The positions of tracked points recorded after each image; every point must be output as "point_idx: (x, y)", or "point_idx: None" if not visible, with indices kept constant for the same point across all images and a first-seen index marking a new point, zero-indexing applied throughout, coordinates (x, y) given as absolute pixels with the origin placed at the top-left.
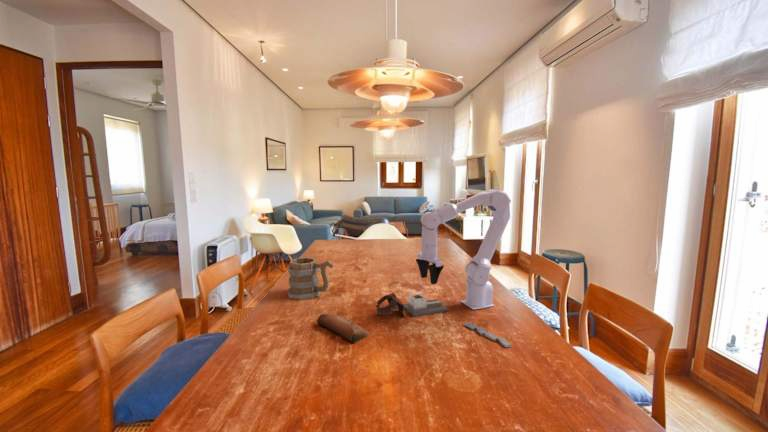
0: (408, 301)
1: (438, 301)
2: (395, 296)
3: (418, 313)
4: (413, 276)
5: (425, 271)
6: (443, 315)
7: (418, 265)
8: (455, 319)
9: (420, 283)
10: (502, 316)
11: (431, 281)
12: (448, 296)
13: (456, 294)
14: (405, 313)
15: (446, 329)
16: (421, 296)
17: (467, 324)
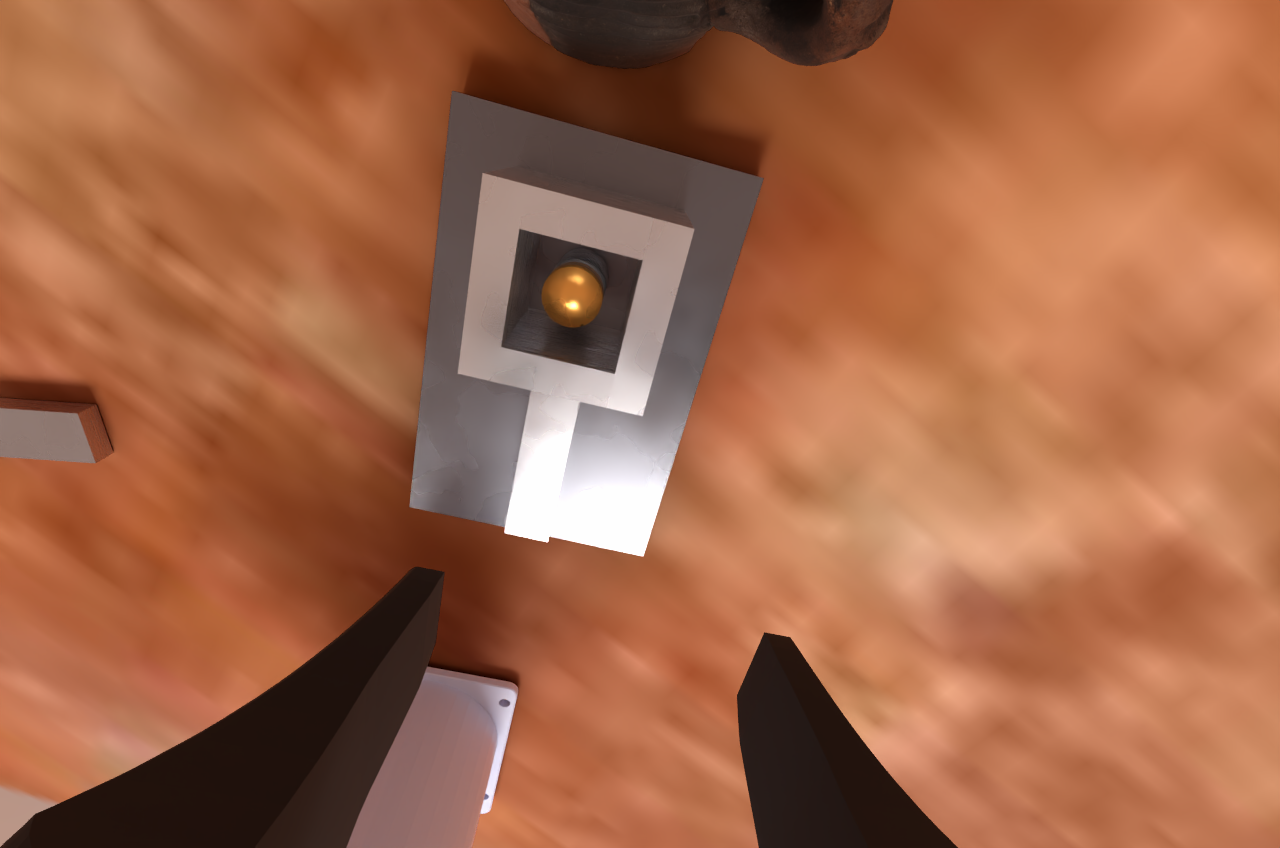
0: (680, 216)
1: (535, 522)
2: (820, 32)
3: (445, 173)
4: (1229, 762)
5: (767, 779)
6: (354, 399)
7: (929, 839)
8: (237, 426)
9: (1059, 705)
10: (175, 714)
11: (391, 589)
12: (670, 688)
13: (663, 750)
14: (540, 35)
15: (56, 202)
16: (553, 361)
17: (43, 412)
